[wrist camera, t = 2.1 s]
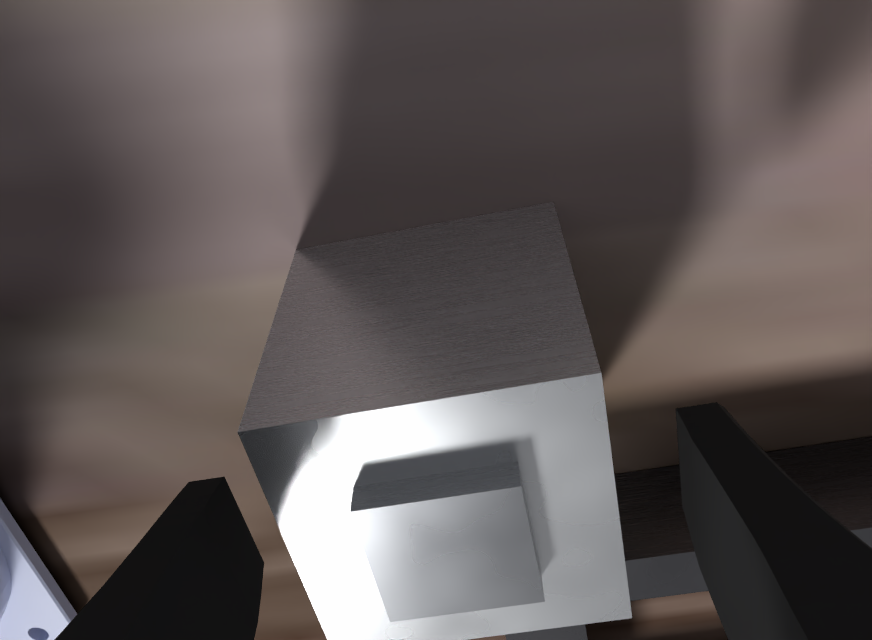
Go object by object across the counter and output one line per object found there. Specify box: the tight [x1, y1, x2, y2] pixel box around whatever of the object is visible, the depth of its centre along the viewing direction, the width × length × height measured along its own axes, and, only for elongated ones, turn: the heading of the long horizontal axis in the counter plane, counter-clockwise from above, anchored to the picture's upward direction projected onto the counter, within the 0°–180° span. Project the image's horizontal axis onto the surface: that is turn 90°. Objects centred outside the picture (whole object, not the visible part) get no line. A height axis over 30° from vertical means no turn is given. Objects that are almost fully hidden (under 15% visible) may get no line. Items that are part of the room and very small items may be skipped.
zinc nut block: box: [238, 202, 632, 640], centre depth 15 cm, size 5×5×6 cm
